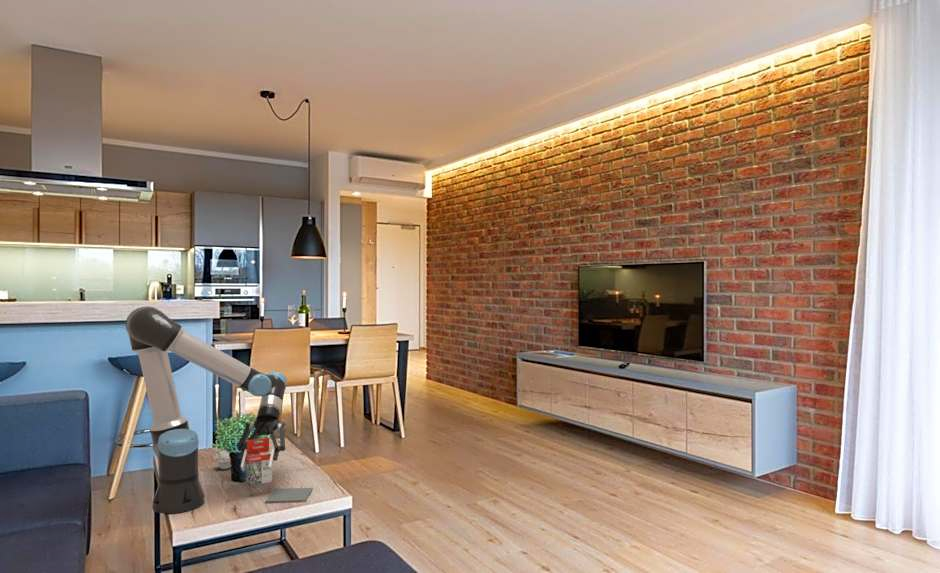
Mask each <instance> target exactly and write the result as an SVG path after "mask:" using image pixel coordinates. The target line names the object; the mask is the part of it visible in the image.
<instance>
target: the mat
mask: <svg viewBox="0 0 940 573" xmlns="http://www.w3.org/2000/svg"><path fill="white" fill-rule="evenodd" d="M312 489H314V487H293V488H292V487H290V488H287V487H286V488H274V489H273V490H272V491H271V493H270V494H269V496H268V497H267V499H266V500H265V501H264V504H278V503H279V504H283V503H285V502H288V503H302V502H301V501H306V500H307V501H308V499H309V497H310V495H311V493H312V492H311V491H313V490H312ZM308 496H309V497H308ZM307 498H308V499H307ZM307 501H306V502H307Z"/></svg>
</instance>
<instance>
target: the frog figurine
mask: <svg viewBox="0 0 940 573" xmlns="http://www.w3.org/2000/svg"><path fill="white" fill-rule="evenodd" d="M225 451H226V450H221V451H219V452H217V453H216V454H215V456H214V457H215V458H214V459H215V461H216V462H217V465H218V467H219V469H221V470H228V469H229V468H231V467H230V457H229V454H230V453H229V452H228V451H226V452H225ZM228 453H229V454H228Z"/></svg>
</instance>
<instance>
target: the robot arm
mask: <svg viewBox="0 0 940 573" xmlns="http://www.w3.org/2000/svg"><path fill="white" fill-rule="evenodd" d="M128 314H129V315H128V316H127V318H126V320H125V329H126V332H127V334H128V337H129V342H130V347H131V351H132V352H133V353H136V354H137V355H138V359H139V362H140V367H141V368H140V369H141V373H142V376H143V380H144V385H145V390H146V394H147V399H148V404H149V407H150V412H151V416H152V420H153V423H152V425H151V427H150V428H149V431H150V435H151V439H152V440H151V441H152V450H153V452H154V454H155V455H156V456H155V457H157V458H156V459H157V460H158V461H157V462H158V464H157V466H158V467H157V468H158V485H157V487H156V491H155V494H154V497H153V500H152V510H153V512H155V513H158V514H165V515H166V514H168V513H171V514H178V513H184V512H188V511H189V512H190V511H191V509H192V510H194V508H195V509H197V508H199V507H200V506H202V505H204V503H205V493H204V490H203V487H202V485H201V482H200V479H199V442H200V441H199V437H198V434H197V432H196V431H194V430H192V429H190V426H189V421H188V418H187V417H186V416H185V417H184V416H183V415H182V413H181V408H180V404H179V399H178V395H177V390H176V385H175V381H174V376H173V372H172V368H171V367H172V366H171V363H170V358H169V353H168V352H170V353H173V354H175V355H177V356H179V357H181V358H182V359H184V360H187V361H189V362H190V363H192V364H194V365H196V366H198V367H200V368H202V369H203V370H205V371H207V372H209V373H212V374H214V375H215V376H217V377H219V378H221V379H222V380H225V381H226V382H229V383H231V384H232V385H234V386H236V387H238V388H241V390H243V391H246V392H248V393H250V394H251V395H252V396H254V397H260V402H259V406H258V411H257V415H256V419H255V421H254V423H249V422H247V423H245V426H244V427H245V428H244V430H243V433H242V434H241V437H240V439H239V441H238V443H237V446H236V447H237V450H238V452H241V453H240V457H239V459H240V461H241V463H240V469H241V471H242V472H246V455H247V440H253V439H260V437H261V436H270V437H271V438H270V439H271V441H272V444H273V448H272V449H271V451H270V452H271V457H270V462H269V466H268V467H269V470H270V471H272V472H273V468H274V464H275V461H277V460H278V457H279V453H280V452H284V451H286V436H285V434H286V433H285V432H286V429H287V426H286V423H285V422H282V423H279V420H280V415H281V409H282V405H283V400H284V395H285V391H286V388H287V376H286V375H285V374H284V373H283V372H279V371H271V372H270V371H269V372H268V374H266V373H264V372H261V371H258V370H256V369H254V368H252V367H251V366H249V365H247V364H245V363H243V362H241V361H240V360H238V359H236V358H234V357H232V356H231V355H229V354H227V353H225V352H223V351H222V350H220V349H218V348H216V347H214V346H212V345H211V344H209V343H206V342H205V341H203V340H201V339H199V338H198V337H196V336H194V335H192V334H191V333H189V332H186V331H185V330H184V328H183V326H182V325H181V324H179V323H177V322H176V321H174V320H173V319H171V318H170V317H168V315H166V314H165V313H164V312H162V311H161V310H159V309H157V308H156V307H154V306H141V307H137V308H135V309H134V310H132V311H131V312H130V313H128ZM253 429H254V431H253V433H252V434H251V431H252V430H253ZM277 429H278V430H279V439H280V440H279V445H278V443H277V438H276V436H275V431H276V430H277ZM249 436H250V437H249ZM253 443H254V444H255V442H253Z"/></svg>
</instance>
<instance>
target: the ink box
mask: <svg viewBox="0 0 940 573" xmlns="http://www.w3.org/2000/svg"><path fill="white" fill-rule="evenodd" d="M258 441H259V442H258ZM246 442H247V455H246V467H245V483H246V485H247V486H249V487H250V486H254V485H260V484H267V483H272V482H273V470H272V471H270V470H269V467H268V466H269V462H270V457H271V452H272V451H270V437H264V438H257V439H253V440H248V439H247V440H246ZM253 442H254V443H253Z"/></svg>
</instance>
